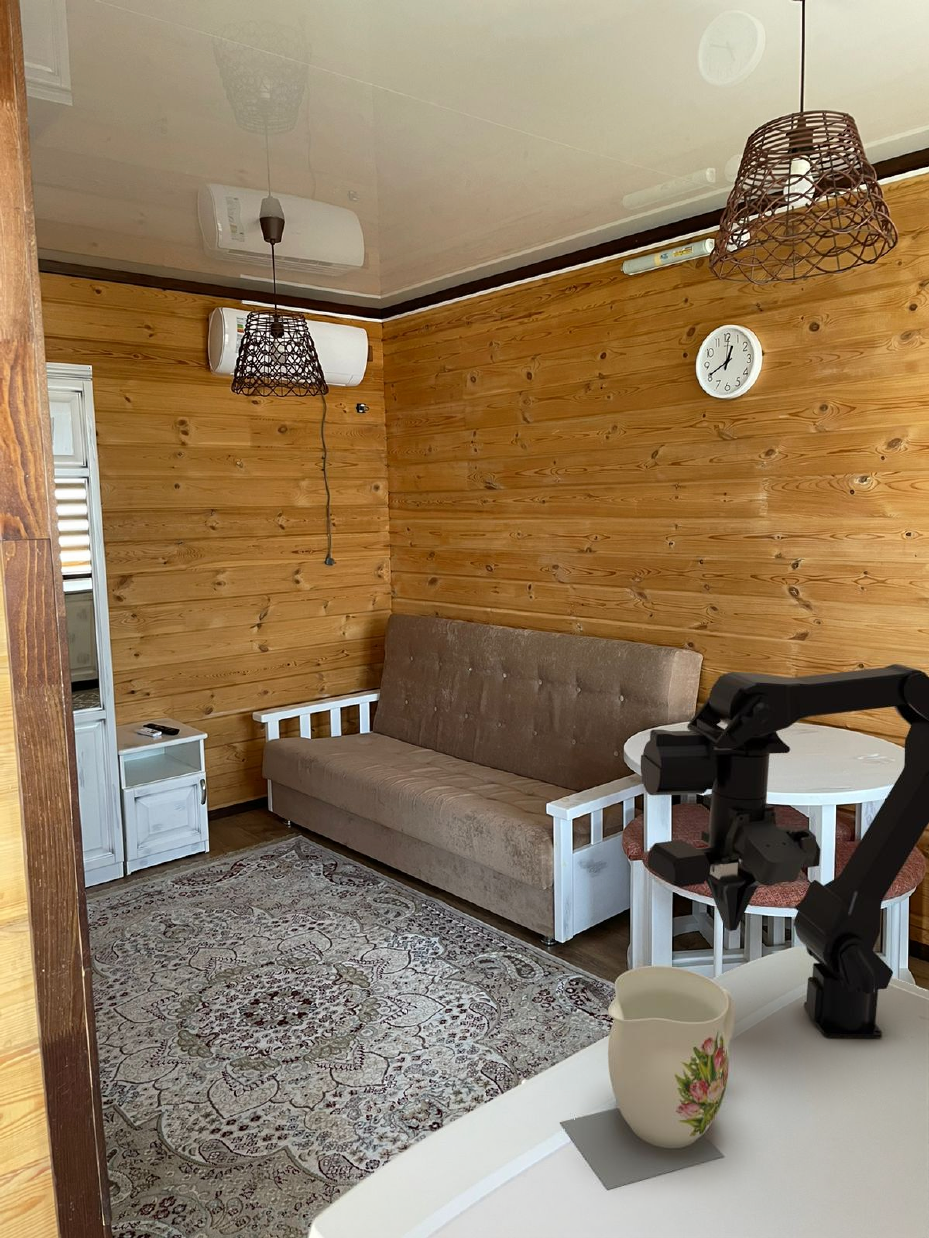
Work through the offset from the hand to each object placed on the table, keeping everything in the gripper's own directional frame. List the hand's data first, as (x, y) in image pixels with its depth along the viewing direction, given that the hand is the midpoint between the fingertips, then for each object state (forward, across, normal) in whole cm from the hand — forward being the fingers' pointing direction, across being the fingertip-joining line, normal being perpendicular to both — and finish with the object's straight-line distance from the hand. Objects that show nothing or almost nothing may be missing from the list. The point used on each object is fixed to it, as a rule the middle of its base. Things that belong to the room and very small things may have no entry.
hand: (730, 929), depth 101 cm
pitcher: (+12, -14, -11) cm, 21 cm away
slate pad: (+12, -18, -12) cm, 25 cm away
